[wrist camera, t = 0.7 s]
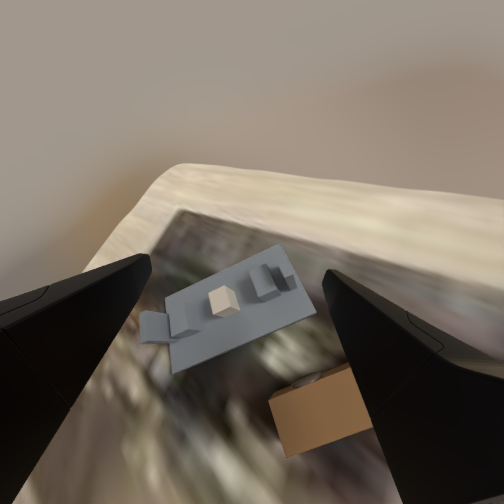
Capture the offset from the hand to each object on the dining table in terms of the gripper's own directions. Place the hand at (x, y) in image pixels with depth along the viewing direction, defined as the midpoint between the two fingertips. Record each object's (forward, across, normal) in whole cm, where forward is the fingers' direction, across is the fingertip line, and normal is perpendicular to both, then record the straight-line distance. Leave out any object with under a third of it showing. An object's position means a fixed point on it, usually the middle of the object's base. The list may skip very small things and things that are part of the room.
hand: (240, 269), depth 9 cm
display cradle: (+9, 0, +12) cm, 14 cm away
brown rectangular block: (0, -10, +12) cm, 16 cm away
